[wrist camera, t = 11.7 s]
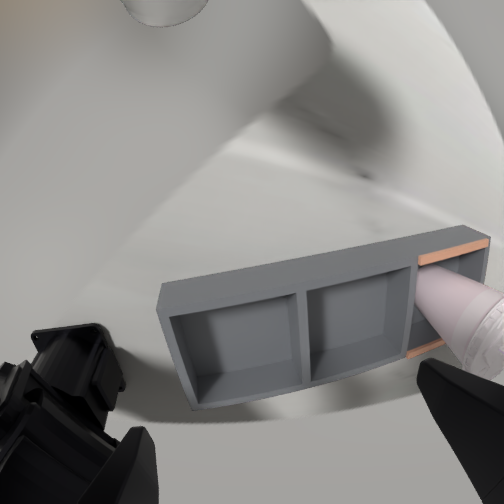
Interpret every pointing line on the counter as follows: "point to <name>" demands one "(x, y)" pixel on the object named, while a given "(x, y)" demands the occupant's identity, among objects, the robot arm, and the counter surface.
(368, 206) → the counter surface
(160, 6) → the drinking glass
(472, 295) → the smoothie
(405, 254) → the bottle caddy
